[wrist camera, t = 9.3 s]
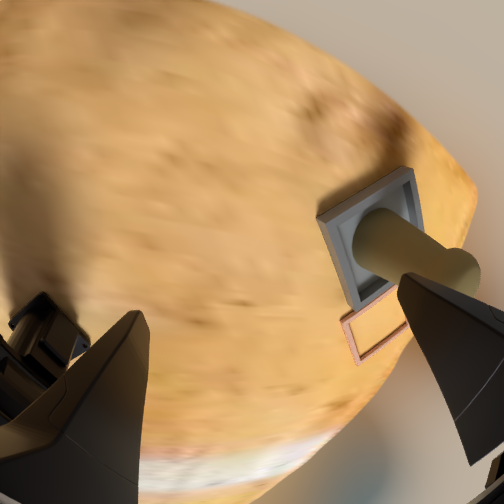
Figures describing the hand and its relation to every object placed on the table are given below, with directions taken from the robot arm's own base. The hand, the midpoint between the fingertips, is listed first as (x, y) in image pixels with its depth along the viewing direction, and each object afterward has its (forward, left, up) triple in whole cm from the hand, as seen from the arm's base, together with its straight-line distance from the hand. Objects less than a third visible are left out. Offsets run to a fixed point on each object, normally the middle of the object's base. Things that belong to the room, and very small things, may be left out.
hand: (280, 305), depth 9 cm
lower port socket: (+11, -9, -12) cm, 19 cm away
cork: (+11, -9, -12) cm, 19 cm away
